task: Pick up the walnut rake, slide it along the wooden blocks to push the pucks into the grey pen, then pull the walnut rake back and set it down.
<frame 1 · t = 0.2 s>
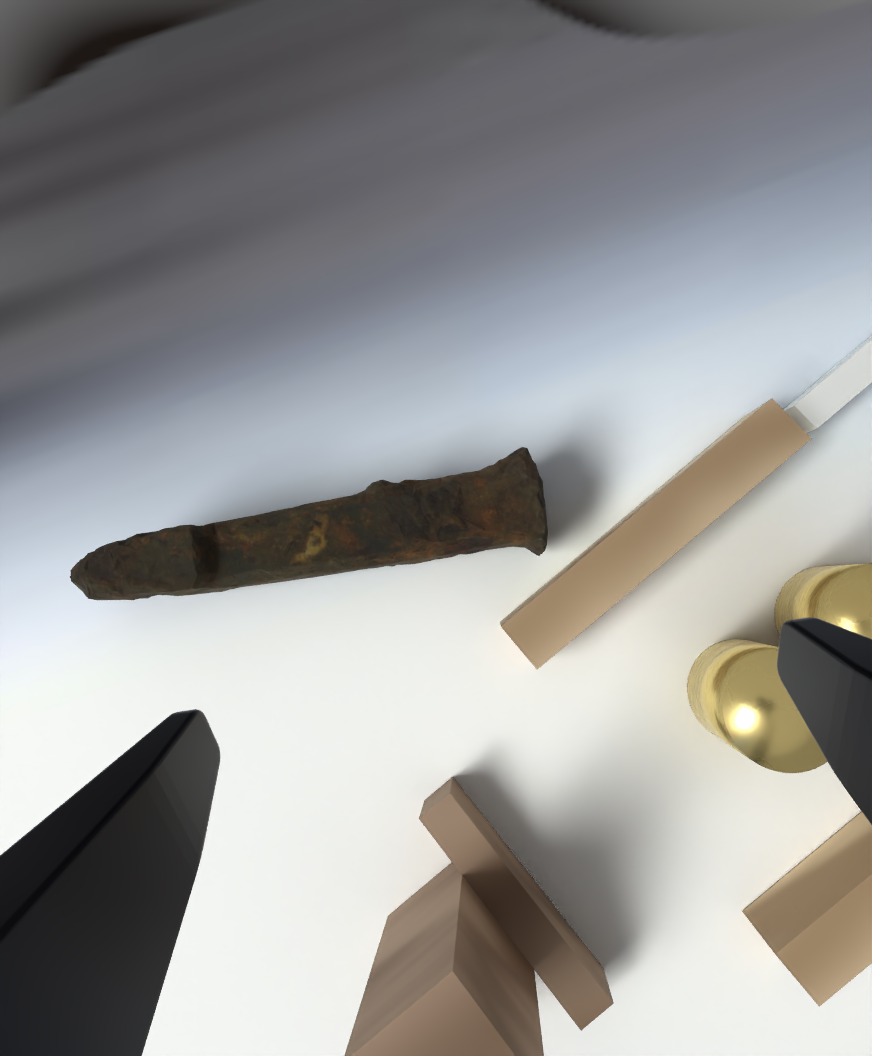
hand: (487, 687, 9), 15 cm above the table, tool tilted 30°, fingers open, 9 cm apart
puck b: (827, 617, 22), on the table
wooden blocks: (760, 674, 22), on the table
hand tool: (326, 558, 25), on the table
puck a: (739, 690, 22), on the table
walnut rake: (458, 926, 22), on the table
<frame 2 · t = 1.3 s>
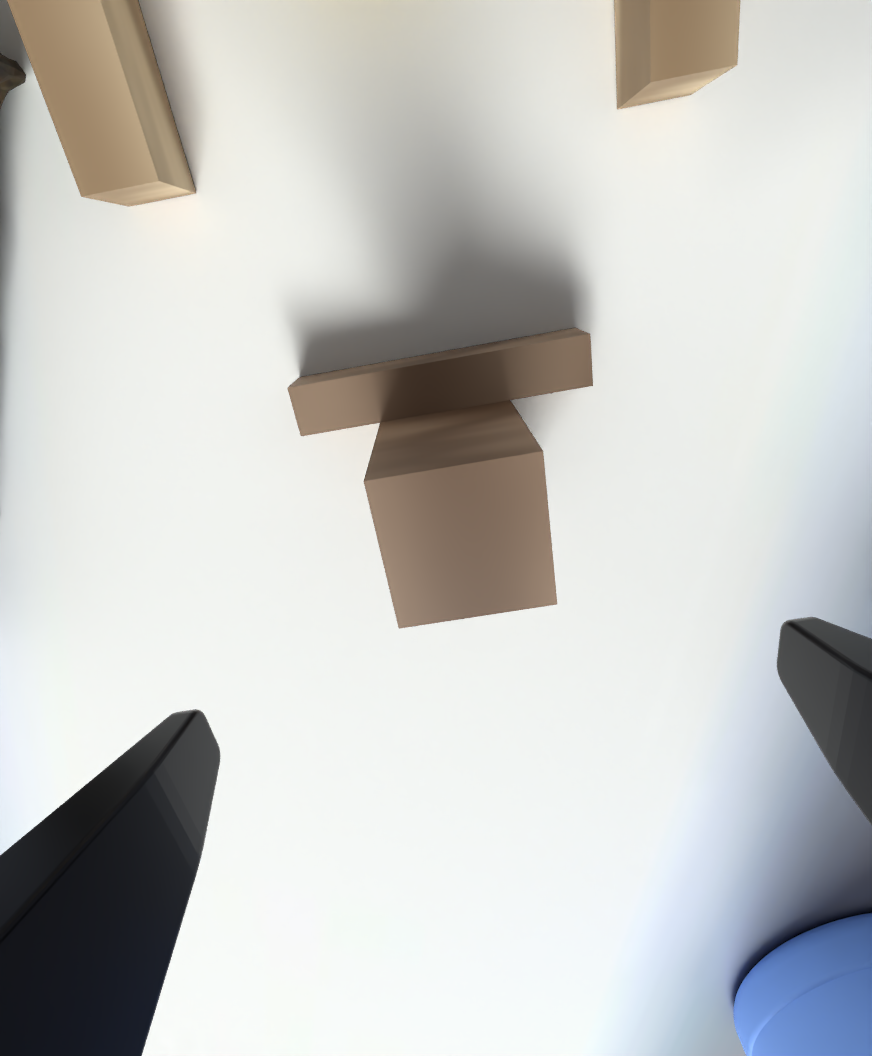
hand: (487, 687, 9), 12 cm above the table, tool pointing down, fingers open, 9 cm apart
water jug: (854, 977, 34), on the table
walnut rake: (452, 455, 20), on the table
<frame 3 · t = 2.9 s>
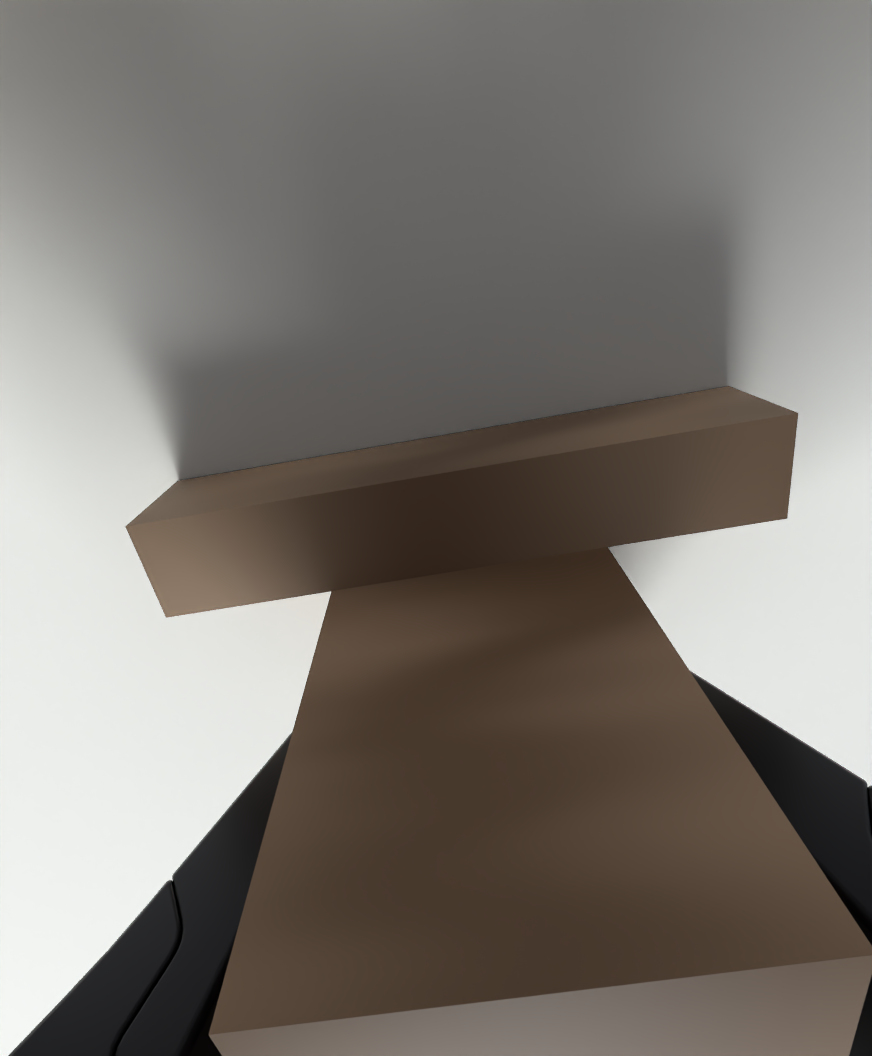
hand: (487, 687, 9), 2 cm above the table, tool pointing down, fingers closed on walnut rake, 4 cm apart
walnut rake: (476, 614, 11), on the table, touching gripper
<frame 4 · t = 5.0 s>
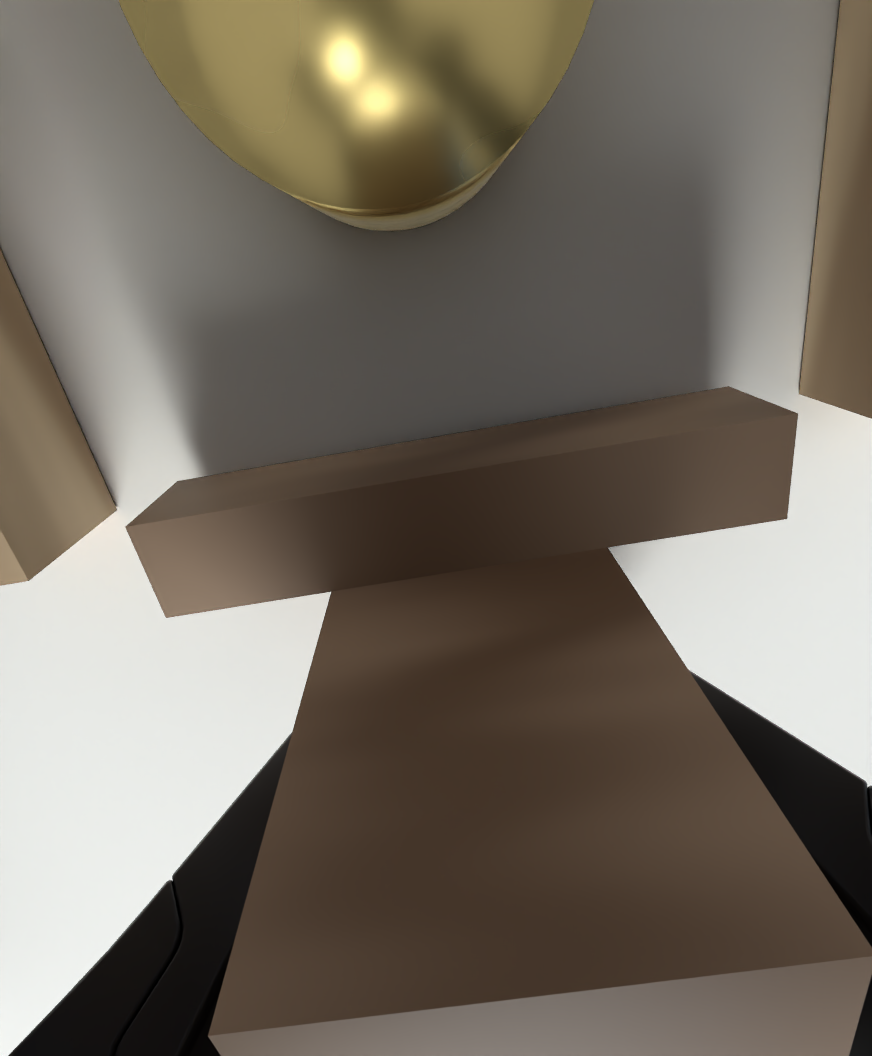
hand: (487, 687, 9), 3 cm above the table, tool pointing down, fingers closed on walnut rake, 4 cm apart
puck a: (382, 62, 8), on the table
walnut rake: (475, 614, 11), point 1 cm above the table, touching gripper
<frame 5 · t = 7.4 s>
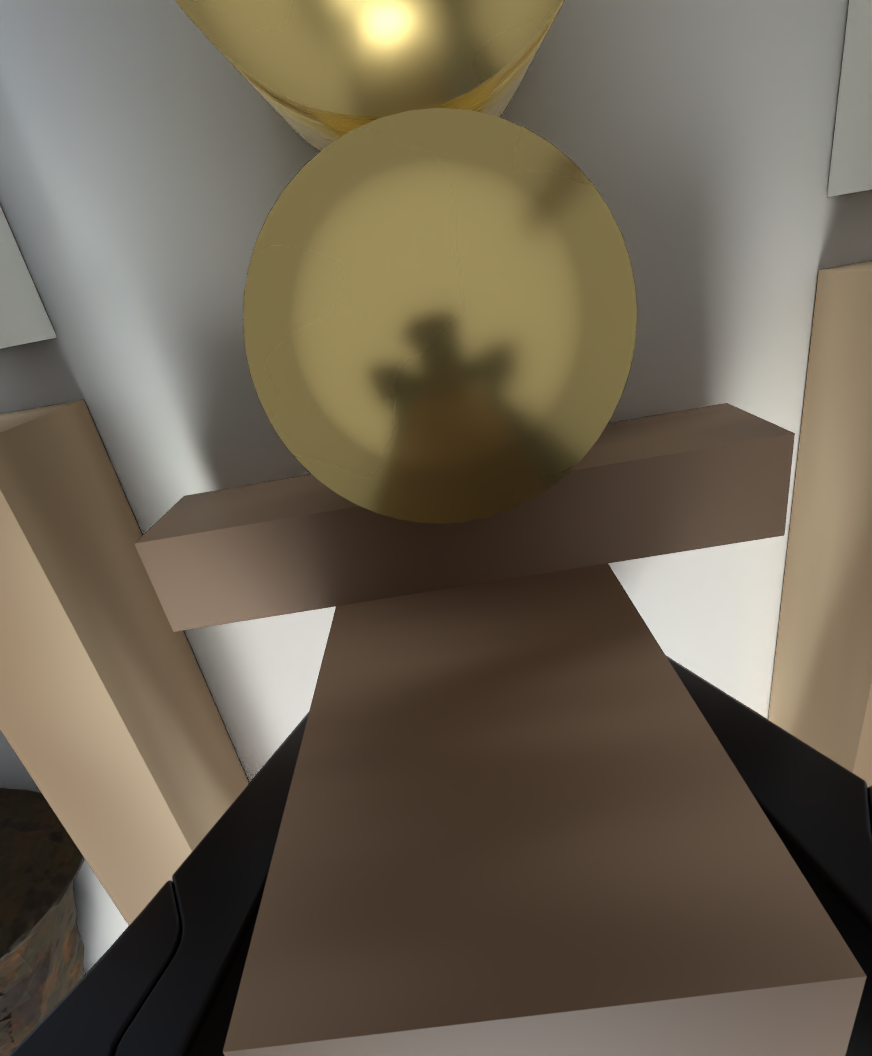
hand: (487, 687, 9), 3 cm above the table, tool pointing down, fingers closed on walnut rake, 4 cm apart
wooden blocks: (488, 658, 12), on the table
hand tool: (81, 986, 17), on the table
puck a: (434, 317, 9), on the table, touching puck b, walnut rake
walnut rake: (477, 626, 11), point 1 cm above the table, touching gripper, puck a
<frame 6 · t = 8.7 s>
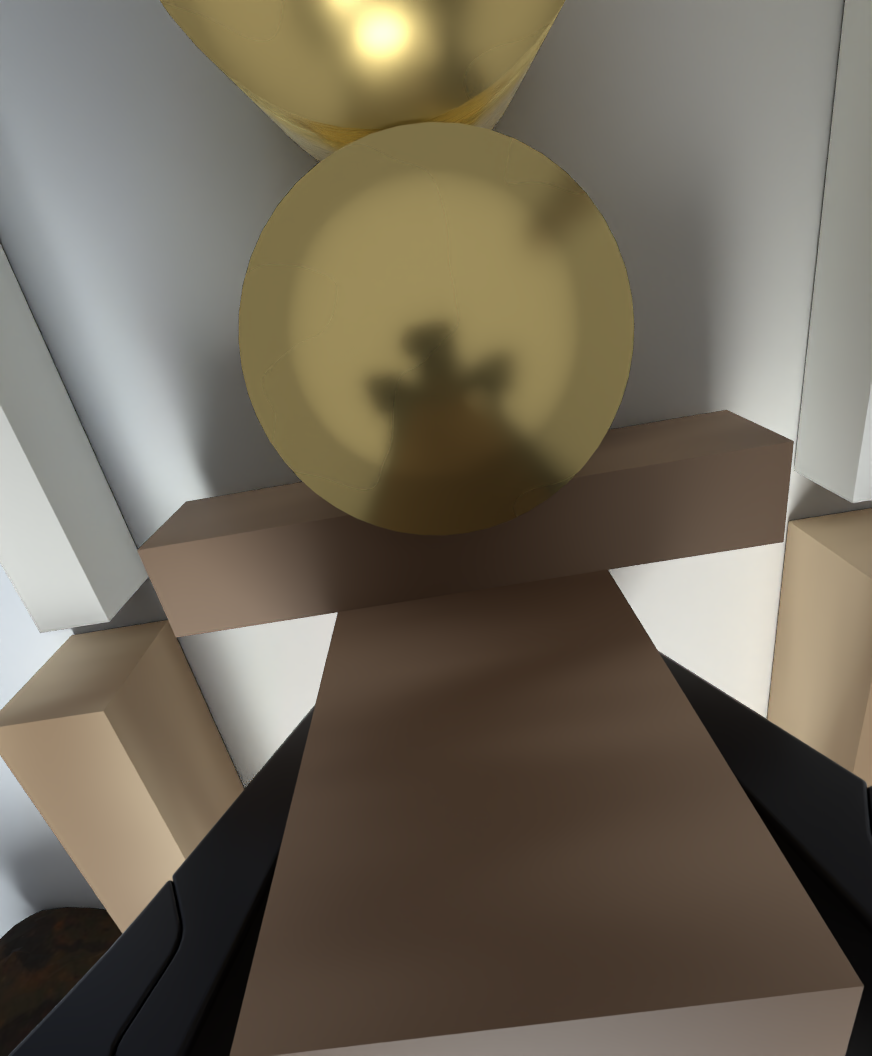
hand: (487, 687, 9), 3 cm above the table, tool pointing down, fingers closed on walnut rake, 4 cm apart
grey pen: (391, 95, 8), on the table
puck b: (383, 1, 7), on the table, touching puck a
wooden blocks: (508, 804, 13), on the table
puck a: (431, 325, 9), on the table, touching puck b, walnut rake
walnut rake: (478, 630, 11), point 1 cm above the table, touching gripper, puck a
when the fingers open (2 cm above the table, at t = 12.5 s): walnut rake stays where it is, on the table.
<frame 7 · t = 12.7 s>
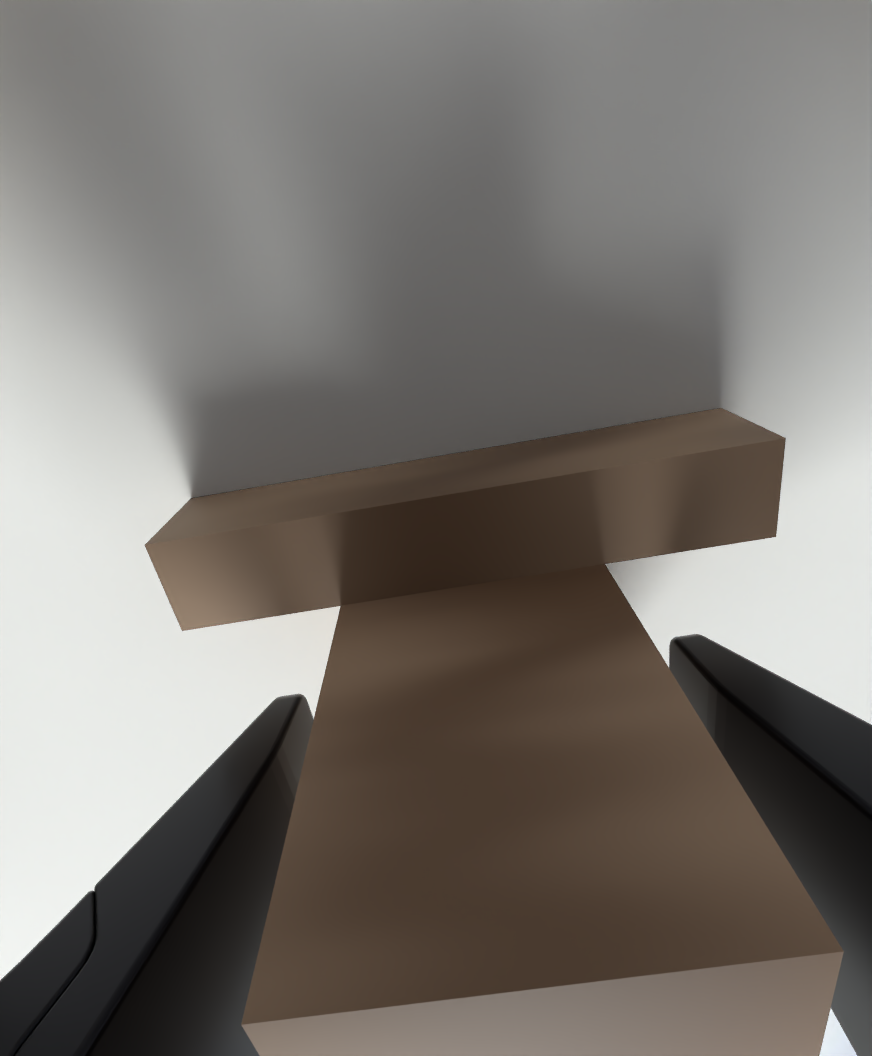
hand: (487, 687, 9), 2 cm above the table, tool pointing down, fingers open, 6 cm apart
walnut rake: (478, 625, 11), on the table
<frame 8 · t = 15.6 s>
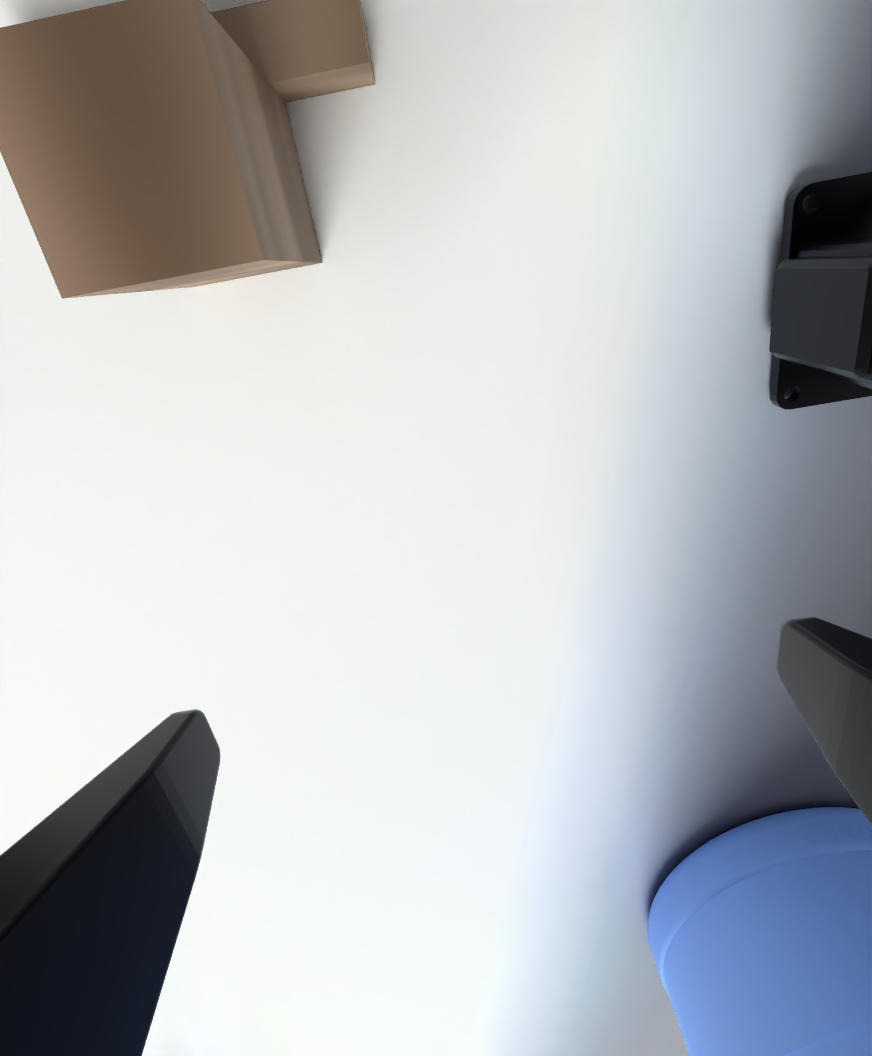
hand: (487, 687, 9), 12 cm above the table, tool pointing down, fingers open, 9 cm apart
water jug: (783, 893, 31), on the table
walnut rake: (237, 200, 16), on the table
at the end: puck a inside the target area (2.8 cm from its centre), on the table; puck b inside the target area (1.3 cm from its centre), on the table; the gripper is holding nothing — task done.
